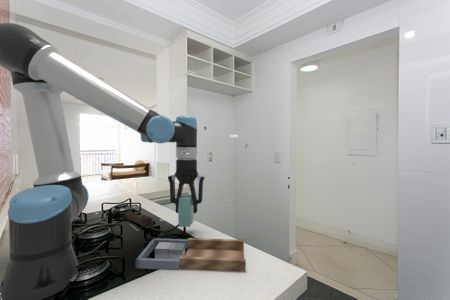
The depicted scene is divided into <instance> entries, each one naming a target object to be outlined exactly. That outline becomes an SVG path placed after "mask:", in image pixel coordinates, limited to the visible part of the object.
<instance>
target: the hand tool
mask: <svg viewBox="0 0 450 300" xmlns="http://www.w3.org/2000/svg"><path fill="white" fill-rule="evenodd" d="M123 216H124V220H125V221H131V222H133V223H135V224H138V225H140V226H141V227H142V228H143V227H152V228H153V229H154V218H153V217H151V216H149V215H144V216H142V215H140V214H138V213H135V212H133V211H132V210H128V211H126V212H124V214H123Z"/></svg>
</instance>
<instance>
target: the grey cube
mask: <svg viewBox="0 0 450 300" xmlns="http://www.w3.org/2000/svg"><path fill="white" fill-rule="evenodd" d="M171 245H172V243H171V242H159V244H158V245H157V246H156V247H155V248H154V259H169V248H170V246H171Z"/></svg>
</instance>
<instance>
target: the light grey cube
mask: <svg viewBox="0 0 450 300" xmlns="http://www.w3.org/2000/svg"><path fill="white" fill-rule="evenodd" d="M185 255H186V248H185V243H172V245H171V246H170V248H169V259H178V260H179V258H180V256H185Z"/></svg>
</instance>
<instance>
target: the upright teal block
mask: <svg viewBox="0 0 450 300" xmlns="http://www.w3.org/2000/svg"><path fill="white" fill-rule="evenodd" d="M192 203H193V200H192V196H191V193H183V194H182V195H181V197H180V198H179V223H178V227H181V228H182V227H183V228H187V227H188V228H190V227H191V225H192V224H193V223H191V205H192Z"/></svg>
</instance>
